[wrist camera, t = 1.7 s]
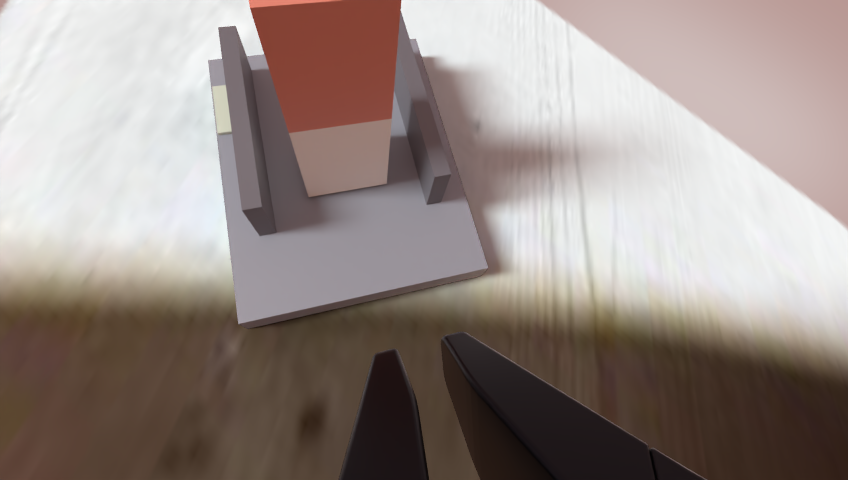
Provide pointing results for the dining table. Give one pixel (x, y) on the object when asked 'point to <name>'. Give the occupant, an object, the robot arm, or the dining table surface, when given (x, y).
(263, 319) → the grey walled base plate
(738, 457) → the dining table surface
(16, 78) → the dining table surface
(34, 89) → the dining table surface
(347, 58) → the block
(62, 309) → the dining table surface
